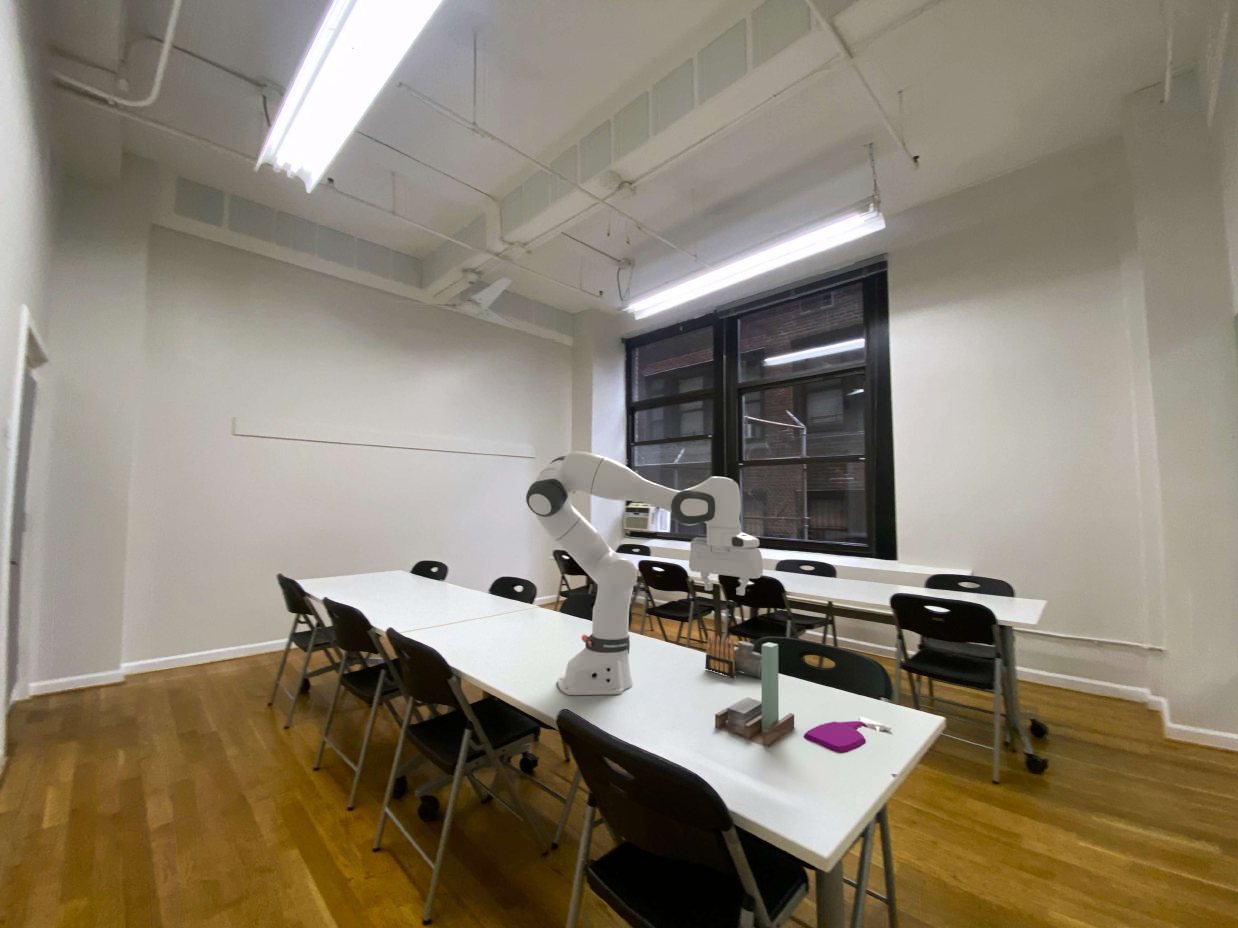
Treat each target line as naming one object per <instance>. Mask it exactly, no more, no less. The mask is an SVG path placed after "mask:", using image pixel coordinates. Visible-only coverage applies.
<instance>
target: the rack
mask: <svg viewBox="0 0 1238 928" xmlns="http://www.w3.org/2000/svg"><path fill="white" fill-rule="evenodd" d="M738 702H739V701H737V702H736V703H738ZM736 703H733V704H732V705H734V704H736ZM727 708H728V707H726V708H724V709H722V710H721V711H718V712H717V713H715V714H714V717H715V718H714V719H715V720H714V728H715V729H718V730H721V731H723V732H727V733H729V734H731V735H734V736H737V737H739V738H742V739H743V740H744V739H745V740H746V741H750V742H752V743H755V744H758V745H760V746H762V747H765V748H770V747H772V746H773V745H774V744H775V743H777V742H778V741H779V740H781V739H782V738H784V737H785V736H786V735H788V734H789V733H790V732H792V731H793V730H795V729H796V727H795V714H794V713H791V712H790V713H788V714H787V715H785V716H783V717H782V718H781V719H779V721H778V722H776V723H775V724H773V725H772V726H770V727H769V728H767V729H766V730H764V731H763V734H762V714H761V715H760V716H758V717H756V718H755V719H753V720H751V721H750V722H748V723H747V724H745V735H743V734H740V733H738V732H735V731H732V730H729V729H727V728H725V721H727V720H728V715H727Z"/></svg>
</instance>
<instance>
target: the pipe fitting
mask: <svg viewBox="0 0 1238 928" xmlns="http://www.w3.org/2000/svg"><path fill="white" fill-rule="evenodd" d="M754 648H755V645H754V644H753V643H752V642H748V641H745V640H739V641H738V642H737V646H736V645H734V651H735V661H736V671H737V672H741V673H744V674H746V675H750V676H752V677H754V678H758V679H762V653H759V652H756V651H754V650H753V649H754Z"/></svg>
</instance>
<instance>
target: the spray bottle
mask: <svg viewBox="0 0 1238 928" xmlns="http://www.w3.org/2000/svg"><path fill="white" fill-rule="evenodd" d="M862 727H863V728H867V729H870V730H872V731H876V732H877V731H878V732H880V731H887V732H891V729H892V728H891V726H889V725H886V724H884V723H882V722H879V721H875V720H873V719H869V718H867V717H863V716H858V720H854V721H850V720H849V721H830V722H826V723H822V724H819V725H817V726H815V727H812V728H811V729H808V730H807V731H806V732H805V733H804V734H803V738H804V739H805V740H807V741H810V742H811V743H815V745H816V744H817V745H818V746H821V747H824V748H826V749H828V750H830V751H832V752H836V753H839V754H845V753H848V752H852V751H854V750H856V749H858V748H860V747H862V746H863V745H865V744H866V743H867V740H866V738H865V736H864V735H863V734H862V733H861V731H859V730H858V729H861V728H862Z"/></svg>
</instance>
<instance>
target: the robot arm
mask: <svg viewBox="0 0 1238 928" xmlns="http://www.w3.org/2000/svg"><path fill="white" fill-rule="evenodd" d="M576 491H580V492H584V493H587V494H589V495H592V496H595V497H597V498H602V499H604V500H612V501H620V502H621V501H630V502H631V501H632V502H640V503H645V504H647V505H650V506H652V507H657V508H659V509H661V510H664V511H667V512H669V513H670V514H672V516H673V518H674V519H676V521H677V522H678V523H680V524H681V525H685V526H696V525H700V524H702V523H705V524H706V537H705V536H704V537H700V536H695V537H693V539H691V541H690V552H689V557H688V558H689V559H688V567H689V569H690V571H691V572H695V573H700V577H701V580H702V582H703V584H704V590H705V591H709V592H710V591H713V590H714V587H713V586H714V583H712V582H710V579H709V577H710V574H713V575H719V576H720V575H722V576H728V577H729V576H730V577H737V578H739V582H741V583H740V585H739V586H738V587H736V588H735V590H736V595H738V596H745V594H746V588H747V586H748V584H749V582H750V579H759V578H761V577H762V575H763V574H764V573H763V572H764V567H763V566H764V565H763V563H764V562H763V556H762V552H761V550H760V549H759V548H758V547H760V539H759V538H757V537H755V536H752V535H750V534H747V533H745V532H742V524H741V521H740V515H741V511H742V509H741V508H742V503H741V492H740V487H739V484H738V483H737V482H736V481H735V480H734V479H732V478H729V477H726V476H725V477H724V476H713V475H712V476H710V477H709V478H707V479H706V480H704V481H703V482H700V483H698V484H697V485H694V486H692V487H689V488H688V487H687V488H686V489H683V490H677V489H673V488H669V487H667V486H664V485H661V484H657V483H655V482H652V481H650V480H647V479H645V478H643V477H642V476H640V475H639V474H638V473H636V472H635V471H634V470H632V469H631V468H629V467H628V466H626V465H624V464H622V463H621V462H620V461H619V462H618V461H617V460H614V459H611V458H609V457H606V456H603V455H600V454H596V453H591V452H587V451H578V450H573V451H571V452H569V453H567V454H566V455H561V456H558V457H557V458H555V459H553V460H552V461H551V462H550V463H549V464H548V465H547V466H546V467H545V468H544V469H543V470H542V471H541V472H540V473H539V475H538V477H536V479H535V480H534V482H533V483H532V484H530V486H529V488H528V490H527V492H526V495H525V501H526V505H527V507H528V508H529V510H530V511H531V512H532V513H534V514H536V518H537V520H538V522H539V523H540V525H541V526H542V527H543V529H544V530H545V531H546V532H547V533H548V535H549V536H550V537H551V538H552V539H553V540H554V541H555V542H556V543H557V544H558V545H559V546H560V547H561V548H562V549H563V550H564V552H567V554H568V555H569V556H570V557H571V558H572V559H573V560H574V561H575V562H576V563H577V564H578V566H579V567H581V569H582V570H583V571H584V572H585V573H586V574H587V575H588V576H589V577H590V578H591V579H592V581H594V582H595V583H596V584H597V590H596V591H597V592H596V598H595V601H594V605H593V608H592V623H591V624H592V627H591V628H592V629H591V631H592V632H591V634H590V635H588V634H585V633H584V634H582V636H581V640H582V641H583V643H585V647H584V648H583V649H582V650H581V651H579V652H577V654H576V655H574V656H573V657H571V659H569V660H568V662H567V664H566V665H567V666H566V669H565V675H560V676H559V677H558V679H557V687H558V688H559V690H560V691H561V692H562V693H564V694H565V695H568V696H588V695H589V696H591V695H593V696H594V695H595V696H596V695H598V696H599V695H621V694H622V693H624V691H625V690H627V689H630V688H631V687H632V686H633V680H632V675H631V670H630V660H629V654H630V647H631V640H630V635H629V618H630V617H629V615H630V614H629V612H630V604H631V599H632V595H633V591H634V586H635V585H636V583H637V580H638V570H637V568H636V566H635V564H634V563H633V561H632V560H631V559H630V558H628V557H627V556H625V555H624V554H623V555H622V554H619V553H618V552H616V551H615V550H613V548H612V547H610V545H609V544H608V543H607V541H606V540H605V539H604V538H603V537H602V534H600V532H599V531H598V530H597V529H596V528H595V527H594V526H593V525H592V524H591V523H590V522H589V521H588V520H587V519H586V517H585V516H583V515H582V514H581V513H580V512H579V511H578V510H577V508H576V507H574V506H573V504H572V503H571V497H572V496H573V495H574V494H575V492H576Z"/></svg>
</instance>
